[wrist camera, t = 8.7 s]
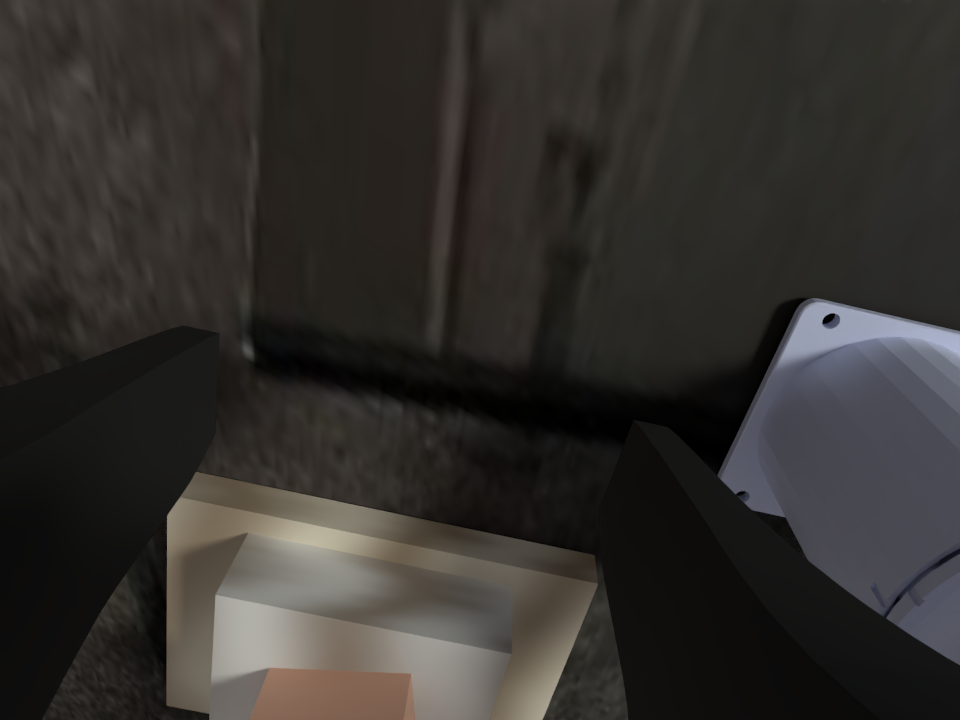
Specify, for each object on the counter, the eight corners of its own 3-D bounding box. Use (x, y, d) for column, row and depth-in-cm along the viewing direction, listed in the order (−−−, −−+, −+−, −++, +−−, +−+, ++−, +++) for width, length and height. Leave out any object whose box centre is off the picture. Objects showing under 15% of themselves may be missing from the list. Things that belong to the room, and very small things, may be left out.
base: (594, 554, 26) (607, 652, 22) (520, 741, 32) (519, 846, 28) (185, 469, 26) (122, 554, 22) (181, 675, 31) (131, 773, 27)
